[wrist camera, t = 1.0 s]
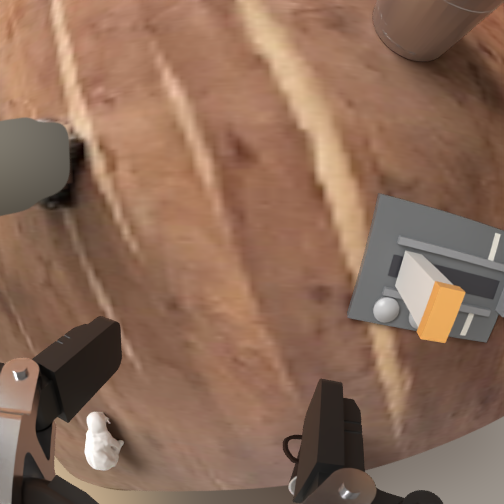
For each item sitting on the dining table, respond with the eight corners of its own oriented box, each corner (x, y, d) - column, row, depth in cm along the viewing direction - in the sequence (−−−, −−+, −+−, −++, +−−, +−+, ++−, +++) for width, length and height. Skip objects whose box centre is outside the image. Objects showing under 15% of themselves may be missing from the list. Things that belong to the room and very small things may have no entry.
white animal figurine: (83, 467, 45) (64, 423, 43) (104, 444, 53) (90, 400, 51) (109, 478, 44) (91, 434, 42) (129, 453, 52) (116, 409, 50)
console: (346, 313, 36) (348, 325, 33) (378, 193, 32) (384, 195, 29) (482, 338, 33) (492, 350, 30) (519, 236, 29) (532, 242, 26)
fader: (392, 287, 32) (420, 338, 22) (404, 248, 31) (440, 286, 20) (412, 291, 32) (445, 342, 21) (423, 253, 31) (465, 292, 20)
